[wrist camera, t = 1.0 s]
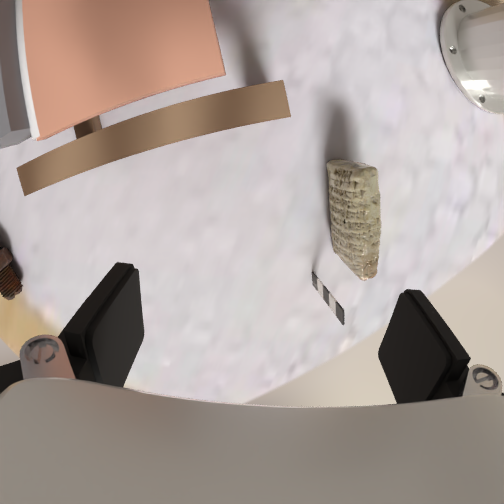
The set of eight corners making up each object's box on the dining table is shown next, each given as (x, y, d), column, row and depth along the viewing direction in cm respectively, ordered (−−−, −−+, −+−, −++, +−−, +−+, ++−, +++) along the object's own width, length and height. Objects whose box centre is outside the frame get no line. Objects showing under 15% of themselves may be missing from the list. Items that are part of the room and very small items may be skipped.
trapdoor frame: (224, -83, 16) (213, -147, 7) (277, 117, 25) (291, 116, 15) (59, -23, 18) (-1, -52, 8) (92, 166, 26) (24, 196, 17)
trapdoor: (185, -99, 11) (171, -135, 6) (229, 79, 17) (220, 66, 13) (2, -9, 12) (-35, -19, 8) (21, 156, 19) (-23, 170, 14)
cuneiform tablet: (312, 284, 31) (299, 161, 26) (353, 273, 32) (345, 154, 27) (342, 325, 25) (334, 175, 20) (389, 309, 25) (390, 166, 20)
